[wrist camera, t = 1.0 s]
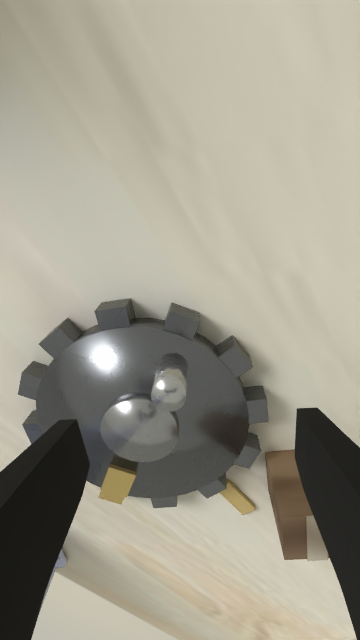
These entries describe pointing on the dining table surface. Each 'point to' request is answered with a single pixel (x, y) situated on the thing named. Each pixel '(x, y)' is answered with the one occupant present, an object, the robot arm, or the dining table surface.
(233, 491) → the pointer
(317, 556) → the walnut block
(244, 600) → the dining table surface
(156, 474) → the sprocket
